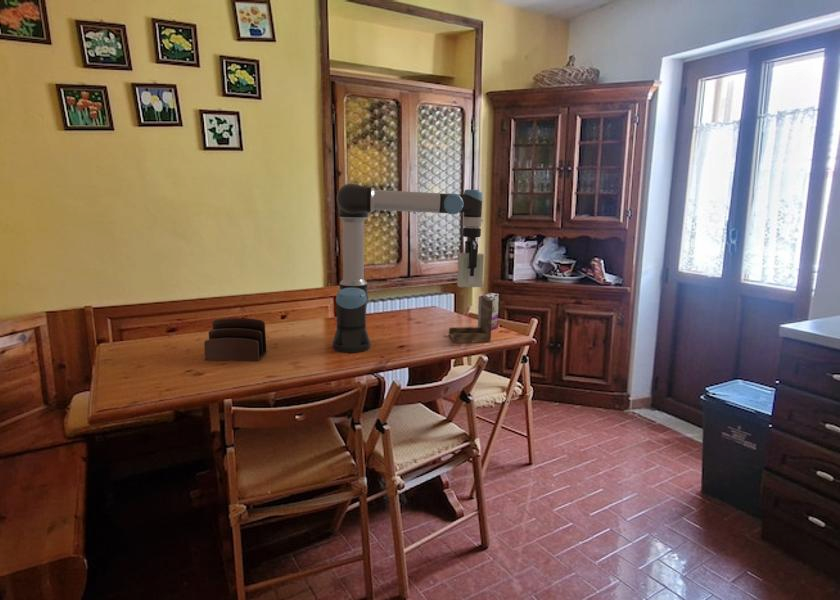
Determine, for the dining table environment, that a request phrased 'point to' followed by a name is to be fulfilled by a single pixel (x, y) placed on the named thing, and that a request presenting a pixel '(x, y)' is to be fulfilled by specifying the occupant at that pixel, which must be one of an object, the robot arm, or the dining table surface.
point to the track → (476, 332)
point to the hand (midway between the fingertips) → (469, 282)
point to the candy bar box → (495, 300)
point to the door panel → (463, 270)
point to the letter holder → (236, 340)
